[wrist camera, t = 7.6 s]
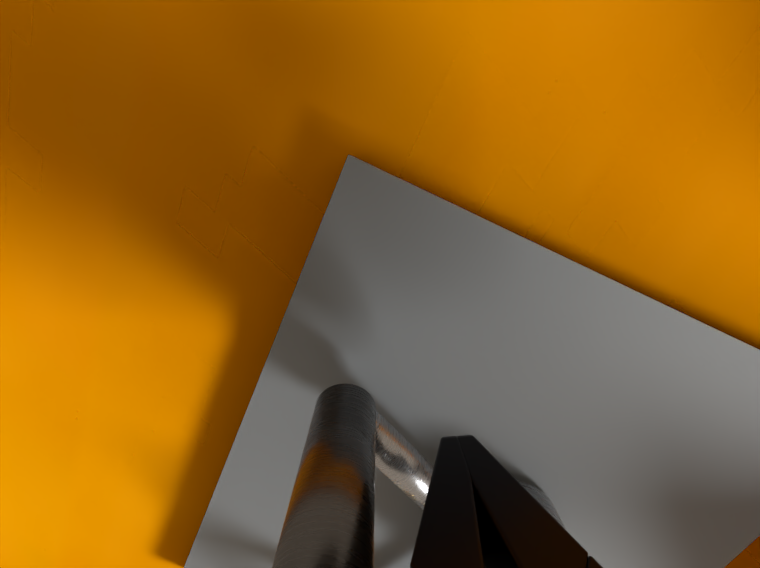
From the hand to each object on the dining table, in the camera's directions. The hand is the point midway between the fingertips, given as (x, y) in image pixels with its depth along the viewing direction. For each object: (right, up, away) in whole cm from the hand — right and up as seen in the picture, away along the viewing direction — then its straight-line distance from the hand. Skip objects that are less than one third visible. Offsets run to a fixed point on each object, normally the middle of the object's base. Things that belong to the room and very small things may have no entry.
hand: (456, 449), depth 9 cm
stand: (+2, -5, +6) cm, 8 cm away
